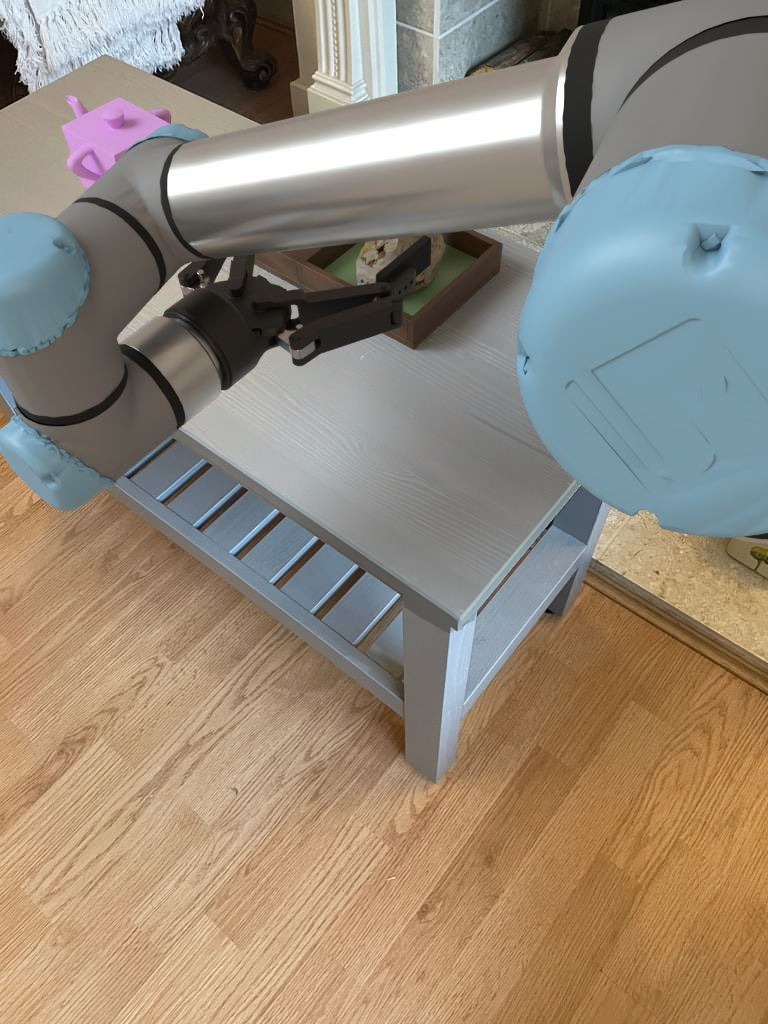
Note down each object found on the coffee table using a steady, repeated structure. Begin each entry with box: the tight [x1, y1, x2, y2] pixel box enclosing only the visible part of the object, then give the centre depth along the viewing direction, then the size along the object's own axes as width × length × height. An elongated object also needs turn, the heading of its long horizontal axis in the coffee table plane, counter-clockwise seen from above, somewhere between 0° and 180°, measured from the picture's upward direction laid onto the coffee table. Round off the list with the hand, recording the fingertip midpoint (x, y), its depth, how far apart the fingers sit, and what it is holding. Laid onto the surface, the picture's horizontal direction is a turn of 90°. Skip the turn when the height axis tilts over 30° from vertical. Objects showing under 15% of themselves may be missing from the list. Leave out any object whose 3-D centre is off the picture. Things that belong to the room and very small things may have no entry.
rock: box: [356, 233, 445, 293], centre depth 89 cm, size 12×7×10 cm, turn 135°
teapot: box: [61, 95, 172, 190], centre depth 100 cm, size 15×13×11 cm
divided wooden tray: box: [254, 230, 504, 350], centre depth 95 cm, size 32×17×4 cm, turn 51°
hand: (366, 221), depth 72 cm, fingers open, 13 cm apart
